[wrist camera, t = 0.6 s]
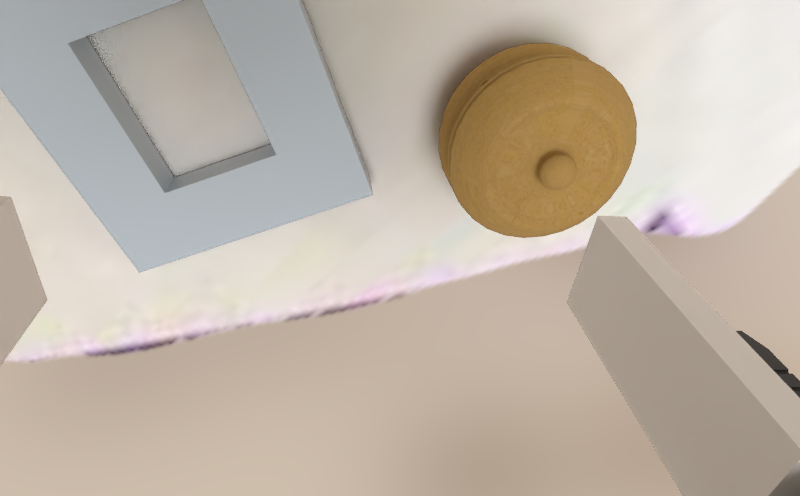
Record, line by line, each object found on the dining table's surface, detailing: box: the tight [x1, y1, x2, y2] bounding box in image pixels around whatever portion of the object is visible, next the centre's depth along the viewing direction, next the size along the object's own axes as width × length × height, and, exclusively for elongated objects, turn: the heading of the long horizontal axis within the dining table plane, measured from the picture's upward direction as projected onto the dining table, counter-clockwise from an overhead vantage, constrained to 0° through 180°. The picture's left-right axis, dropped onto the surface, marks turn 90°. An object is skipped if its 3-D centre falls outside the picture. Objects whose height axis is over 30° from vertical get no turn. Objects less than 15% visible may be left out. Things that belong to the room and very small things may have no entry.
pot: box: [439, 43, 637, 238], centre depth 33 cm, size 12×12×10 cm
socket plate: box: [0, 0, 373, 273], centre depth 32 cm, size 20×18×2 cm
